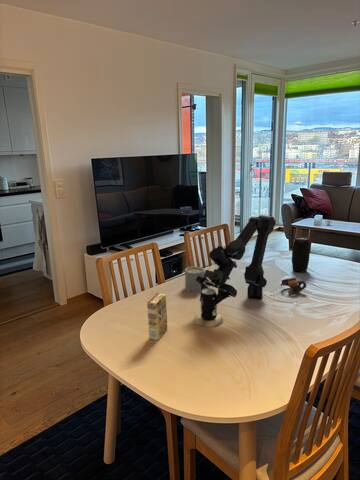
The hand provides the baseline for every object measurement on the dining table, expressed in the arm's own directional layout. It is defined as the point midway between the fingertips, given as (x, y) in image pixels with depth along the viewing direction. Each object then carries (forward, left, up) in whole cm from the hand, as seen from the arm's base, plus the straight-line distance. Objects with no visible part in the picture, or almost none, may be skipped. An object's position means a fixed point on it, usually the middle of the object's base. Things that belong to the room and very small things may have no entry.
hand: (206, 303), depth 147 cm
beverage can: (-1, -1, -7) cm, 7 cm away
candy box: (+15, +15, -8) cm, 23 cm away
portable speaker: (-37, -74, -8) cm, 83 cm away
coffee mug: (+13, -35, -8) cm, 38 cm away
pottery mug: (-34, -41, -8) cm, 54 cm away
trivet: (-1, -1, -8) cm, 8 cm away
